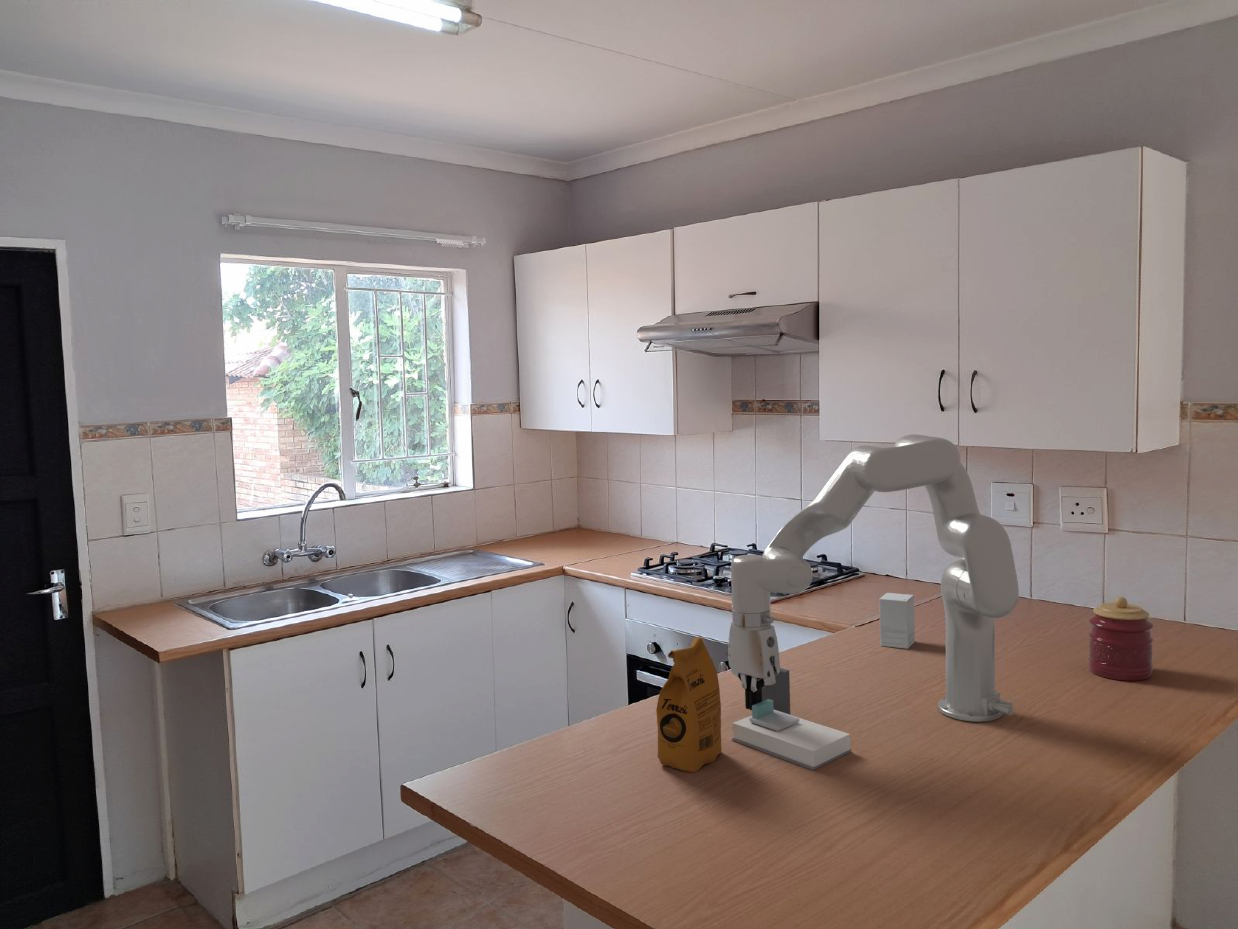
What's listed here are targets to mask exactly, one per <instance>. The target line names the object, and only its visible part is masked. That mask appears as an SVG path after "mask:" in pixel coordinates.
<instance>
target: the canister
mask: <svg viewBox="0 0 1238 929" xmlns="http://www.w3.org/2000/svg"><path fill="white" fill-rule="evenodd" d="M1092 612H1093V613H1094V615H1091V617H1089V618H1088V622H1089V623H1090V625H1091V626H1090V628H1091V629H1090V631H1089V632H1088V637H1089V640H1088V641H1089V643H1088V644H1089V646H1088V649H1089V652H1088V653H1089V654H1088V655H1089V656H1088V662H1087V664H1088V667H1089V671H1090V672H1092V673H1093V674H1095V675H1097V676H1100V677H1103V678H1107V679H1110V680H1116V681H1117V680H1118V681H1126V682H1127V681H1129V682H1131V681H1144V680H1147V679H1149V678H1151V677H1152V673H1153V671H1154V670H1153V668H1154V665H1153V642H1154V638H1153V636H1152V633H1151V631H1152V629H1153V628H1154V627H1155V626H1154V623H1153V622H1152V621H1151V620H1149V619H1148V618H1149V617H1150V613H1149V611H1147V610H1145V609H1143V608H1142V607H1141V606H1139V605H1137V604H1132V603H1129V602H1128V600H1127V598H1125V597H1123V596H1117V597H1116V598H1115V599H1114V601H1113V602H1104V603H1102V604H1100V605H1098V606H1097V607H1094V608H1093V609H1092Z"/></svg>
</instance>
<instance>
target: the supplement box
mask: <svg viewBox="0 0 1238 929" xmlns="http://www.w3.org/2000/svg"><path fill="white" fill-rule="evenodd" d="M878 607H879V612H878V614H879V644H880V647H890V648H897V649H898V648H899V649H907V650H908V649H910V647H911V646H913V644H914V643H915V642H916V639H915V635H916V634H915V633H916V632H915V631H916V630H915V629H916V628H915V595H914V594H905V593H894V592H886V593H885V594H883V595H882V596H881V597H879V599H878Z"/></svg>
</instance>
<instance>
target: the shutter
mask: <svg viewBox="0 0 1238 929" xmlns="http://www.w3.org/2000/svg"><path fill="white" fill-rule="evenodd" d="M751 715H752V718H750V722H752V723H755V724H758V725H761V726H764V727H767V728H770V729H773V730H775V731H779V730H781V729H784V728H786V727H788V726H791V725H793V724H795V723H798V722H799V718H800V717H798V718H796V717H797V716H795V717H792V716H793V715H792V716H789V715H786V714H783V713H780V712H777V711H774V710H773V700H770V699H768V700H765V701H763V702H760V703H757V704H755V705H752V710H751Z"/></svg>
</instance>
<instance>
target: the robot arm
mask: <svg viewBox="0 0 1238 929" xmlns="http://www.w3.org/2000/svg"><path fill="white" fill-rule="evenodd" d="M919 487H925V489H926V492H927V494H928V497H929V499H930V504H931V508H932V512H933V518H934V524H935V528H936V529H935V530H936V533H937V538H938V543H939V545H940V547H941V549H942V550H943V551H944V552H946V553H947V554H949V555H951V556H953V557H956V558H958V559H959V560H955V561H953V562H952V563H950V564H949V565H948V566H946V568H945V569H944V571H943V573H942V576H941V580H940V591H941V592H940V593H941V598H942V602H943V608H944V620H945V623H944V624H945V697H943V698H941V699H940V700H939V701H938V703H937V709H938V711H939V712H941V714H943V715H945V716H947V717H949V718H952V719H956V720H960V721H966V722H978V723H979V722H980V723H981V722H991V721H996V720H998V719H1000V718H1002V716H1003V714H1004V715H1007V716H1012V714H1013V712H1014V711H1013V710H1014V706H1013V702H1011V701H1008V700H1002V698H1001V692H1000V691H996V627H995V619H1000V618H1004V617H1006V616H1008V615H1010V614H1011V613H1013V611H1014V609H1015V608H1016V606H1017V604H1018V600H1019V593H1020V592H1019V591H1020V590H1019V589H1020V588H1019V581H1018V577H1017V570H1016V565H1015V559H1014V555H1013V549H1012V544H1011V540H1010V537H1009V535H1008V533H1007V530H1006V529H1005V528H1004V526H1003V525H1002V524H1001V523H1000V522H999V521H998V520H996V519H995V518H992V517H991V516H988V515H987V516H986V515H983V514H982V513H980V510H979V507H978V503H977V499H976V494H975V491H974V487H973V484H972V481H971V478H970V475H969V474H968V471H967V469H966V468H965V466H964V465H963V463H961V454H960V451H959V449H958V447H957V446H956V445H955V444H954V443H953V442H952V441H950V440H948V439H946V438H943V437H937V436H930V435H929V436H928V435H924V434H923V435H922V434H907V435H904V436H902V437H900V438H898V439H897V440H896V441H895V443H894V444H893V446H892V447H879V446H875V445H874V446H873V445H860V446H857V447H854V448H853V449H852V450H850V451H849V452H848V453H847V454H846V456H845V457H844V458H843V459H842V461H841V462H840V463H839V465H838V467H837V468H836V469H835V471H834V472H833V473H832V475H831V476H830V477H829V478H828V480H827V481H826V483H825V484H824V485H823V486H822V488H821V489H820V491H819V492H818V494H817V495H816V496H815V497H814V498H813V499H812V501H811V502H810V503H809V504H808V505H805V507H803V508H802V509H801V510H800V511H799V512H798V513H797V514H795V515H794V516H793V517H791V518H790V520H788V521H787V522H786V523H785V524H784V525H783V526H782V527H781V528H780V529H779V530H778V532H777V533H776V535H775V536H774V537H773V539H772V540H771V541H770V543H769V544H768V546H767V547H766V548H765V550H764V551H763V553H762V555H758V554H742V555H738V556H735V557H734V558H733V559H732V560H731V563H730V578H731V579H730V580H731V583H730V584H731V616H732V619H731V620H732V622H731V623H730V627H729V635H728V645H727V646H728V648H727V651H728V652H727V654H728V655H727V656H728V666H729V668H730V669H731V670H730V672H731V674H732V675H734V676H735V677H737V678H738V679H739V681H740V682H741V687H742V688H743V689H744V696H745V697H744V698H745V700H744V701H745V704H744V707H745V709H746V710H750V711H752V705H755V704H757V703H760V702H762V689H763V688H764V687H765V685H772V684H775V683H776V680H775V675H774V674H778V673H779V672H780V668H781V661H780V650H779V642H778V637H777V632H776V628H775V626H774V625H772V624H773V623H774V621H775V618H774V617H773V616H771V614H772V613H771V593H777V594H778V593H780V594H792V595H793V594H798V593H801V592H804V591H805V590H807V589H808V587H809V586H811V584H812V581H813V578H814V577H813V576H814V574H813V569H812V566H811V564H809V562H808V561H807V560H806V559H805V558H803V557H804V556H805V555H806V553H808V551H809V550H810V549H811V548H812V547H813V546H814V545H815V544H817V542H818V541H820V540H822V539H823V538H825V537H828V536H830V535H833V534H837V533H839V532H840V531H843V530H845V529H847V528H848V527H849V526H850V525H851V523H853V521H854V519H855V518H856V517H857V515H858V514H859V512H860V511H861V510H862V508H863V507H864V506H865V504H866V503H867V502H868V501H869V499H870V498H871V496H872V495H873V494H874V492H877V493H891V492H899V491H904V490H905V491H906V490H910V489H914V488H919Z"/></svg>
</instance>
